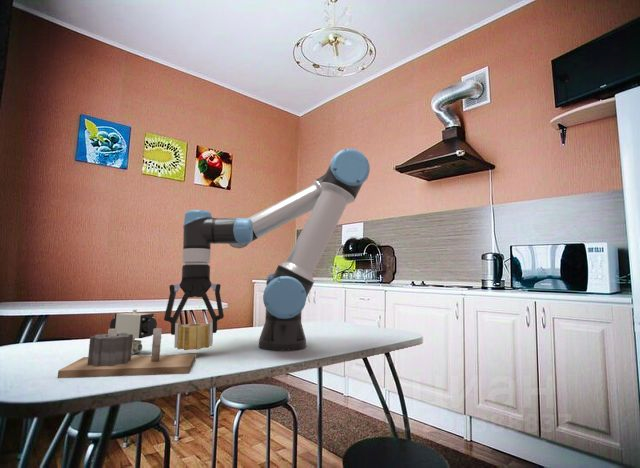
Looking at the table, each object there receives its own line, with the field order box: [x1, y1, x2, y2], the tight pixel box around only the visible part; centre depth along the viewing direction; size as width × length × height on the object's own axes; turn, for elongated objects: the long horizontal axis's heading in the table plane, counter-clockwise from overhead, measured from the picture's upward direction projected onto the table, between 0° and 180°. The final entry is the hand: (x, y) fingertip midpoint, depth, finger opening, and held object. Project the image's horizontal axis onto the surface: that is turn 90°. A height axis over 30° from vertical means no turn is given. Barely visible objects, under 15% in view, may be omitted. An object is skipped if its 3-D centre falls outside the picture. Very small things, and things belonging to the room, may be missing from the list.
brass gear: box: [176, 322, 210, 351], centre depth 99 cm, size 8×8×6 cm
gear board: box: [57, 327, 196, 379], centre depth 84 cm, size 26×13×9 cm, turn 103°
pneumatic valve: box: [109, 309, 158, 356], centre depth 100 cm, size 6×12×12 cm, turn 79°
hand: (193, 345), depth 99 cm, fingers closed on brass gear, 8 cm apart
